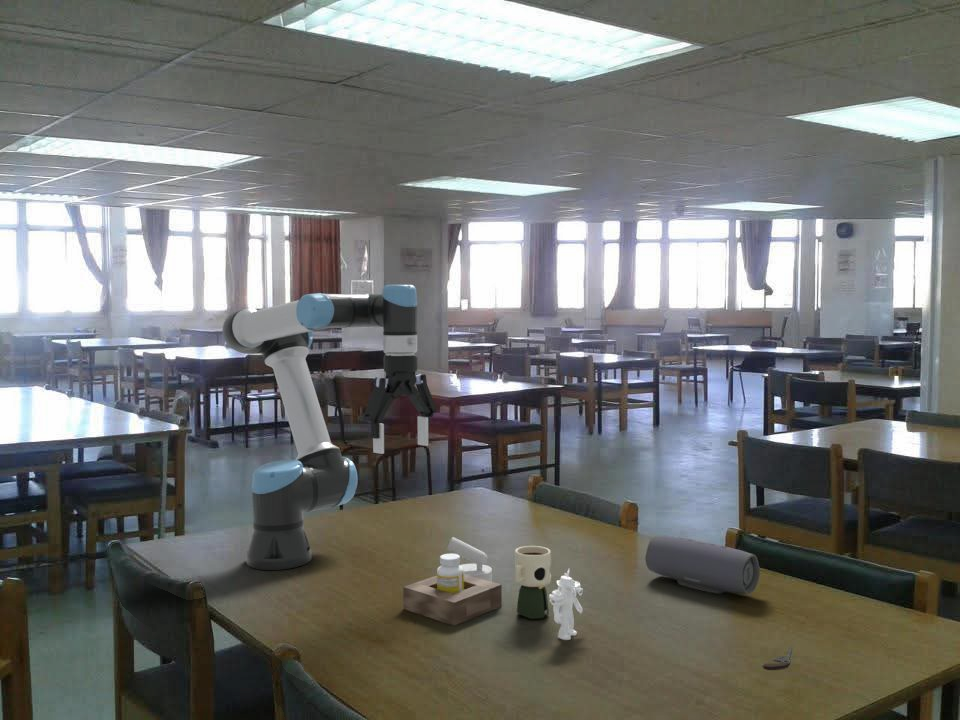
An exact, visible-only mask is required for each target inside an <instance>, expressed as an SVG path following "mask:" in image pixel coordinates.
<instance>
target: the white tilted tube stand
mask: <svg viewBox="0 0 960 720" xmlns="http://www.w3.org/2000/svg"><path fill="white" fill-rule="evenodd" d="M446 550H447V551H449V552H450V553H452V554H458V555H459V556H460V558H463V559H464V560H465V559H466V560H467V561H468V562H471V563H463V564H459V565H460V566H462V568H463V570H464V574H466V575H469V576H473V577H476V578H480V579H484V580H487V581H491V582H493V569H492V567H491V566H489V565H486V563H487V561H488V555H487V554H486V553H485V552H484V551H482V550H480V549H478V548H476V547H474V546H472V545H470V544H468V543H466V542H464V541H462V540H460V539H458V538H456V537H454V536H452V537H451V539H450V541H449V543H448V545H447V548H446Z"/></svg>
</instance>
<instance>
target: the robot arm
mask: <svg viewBox="0 0 960 720" xmlns="http://www.w3.org/2000/svg"><path fill="white" fill-rule="evenodd" d="M418 304H419V302H418V296H417V288H416V287H415V286H414V285H413V284H386V285H384V286H383V287H382V293H341V294H340V293H339V294H338V293H321V292H315V293H314V292H313V293H309V294H304V295H302V296H301V298H300V299H298V300H294V301H288V302H286V303H281V304H277V305H273V306H270V307H265V308H242V309H238V310H235V311H232V312H231V313H230V314H229V315H228V316H227V317H226V318H225V320H224V321H223V324H222V331H221V332H222V337H223V340H224V341H225V343H226V345H227V346H229V348H231V349H232V350H234V351H235V352H238V353H241V354H247V355H260V354H261V355H262V359H263V360H264V364H265V365H266V366H268V367H270V368H272V369H273V374H274V376H275V379H276V383H277V388H278V390H279V394H280V398H281V400H282V404H283V406H284V407H283V408H284V410H285V414H286V417H287V421H288V424H289V427H290V431H291V435H292V437H293V441H294V445H295V448H296V451H297V456H296V457H295V459H284V460H275V461H271V462H267V463H264V464H261V465H260V466H258V467H257V468H255V470H254V471H253V473H252V479H251V491H252V492H251V493H252V522H253V523H252V525H253V527H252V528H253V530H252V534H251V538H250V541H249V545H248V549H247V551H246V555H245V556H246V557H245V558H246V559H245V560H246V563H245V564H246V565H247V566H248V567H250V568H252V569H255V570H262V571H263V570H265V571H279V570H280V571H281V570H288V569H294V568H297V567H301V566H304V565H306V564H308V563H309V562H311V561H312V549H311V545H310V542H309V540H308V535H307V533H306V531H305V528H304V513H310V512H314V511H319V510H324V509H329V508H336V507H338V506H341V505H344V504H347V503H349V502H350V501H351V500H352V499H353V498H354V496H355V494H356V490H357V487H358V482H359V481H358V480H359V478H358V471H357V468H356V466H355V463H354V462H353V461H352V460H351V459H350V458H349V457H345V456H343V455H342V453H341V450H340V447H338V446H337V445H334V444H333V443H332V441H331V438H330V435H329V431H328V428H327V425H326V421H325V419H324V415H323V412H322V409H321V406H320V402H319V399H318V396H317V392H316V389H315V386H314V383H313V380H312V377H311V372H310V369H309V366H308V362H307V360H306V358H307V356H308V355H309V353H310V349H309V348H310V347H311V345H312V343H313V337H312V336H313V335H314V334H313V333H314V331H320V330H326V329H339V328H383V333H382V335H383V336H382V337H383V338H382V340H383V342H382V343H383V349H382V351H383V353H384V354H385V355H384V356H383V371H384V372H385V377H377V376H376V377H374V379H373V388H372V390H371V391H372V392H371V394H370V397H369V400H368V403H367V405H366V409H365V411H364V414H363V416H362V420H363V422H364V421H365V422H367V423H369V424H370V437H371V439H372V446H373V447H372V449H373V450H372V451H373V452H372V453H374V454H375V453H376V454H381V455H383V454H385V424H384V423H381V422H382V421H383V420H384V418H385V416H386V414H387V412H388V411H389V409H390V406H391V405H392V403H393V402H394V400H396V399H397V398H398V397H400V398H401V397H408V399H409V400H410V402H411V404H412V405H413V406H414V408H415V409H416V410H417V412H418V413H419V416H417V445H418V446H425V447H428V446H429V431H430V430H431V427H430V426H431V425H430V424H431V423H430V422H431V421H430V419H431V418H432V417H433V416H434V414H436V413H437V412H438V411H437V407H436V405H435V402H434V399H433V397H432V393H431V391H430V389H429V386H428V380H427V375H426V374H423V373H416V372H417V371H418V370H419V369H418V356H417V354H415V353H417V352H418V306H419V305H418Z"/></svg>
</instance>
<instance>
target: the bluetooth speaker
mask: <svg viewBox="0 0 960 720" xmlns="http://www.w3.org/2000/svg"><path fill="white" fill-rule="evenodd" d="M645 565H646V567H647V568H648V570H649V571H651V572H652V573H655V574H658V575H660V576H664V577H667V578H670V579H673V580H677V584H678V585H681V586H684V587H687V588H691V589H695V590H699V591H703V592H706V593H712V594H718V595H720V594H723V593H725V592H727V593H728V592H729V593H733V594H741V595H750V594H752V593H753V592H754V591H755V590H756V588H757V587H758V583H759V580H760V573H761V570H760V569H761V568H760V564H759V560H758V557H757V555H755V554H754V553H752V552H751V553H750V552H747V551H745V550H740V549H737V548H733V547H728V546H723V545H721V544H716V543H710V542H706V541H702V540H696V539H690V538H685V537H681V536H679V537H678V536H673V535H665V534H655V535H653V536H652V537H651V538H650V540H649V542H648V544H647V548H646V553H645Z"/></svg>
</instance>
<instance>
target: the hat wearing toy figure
mask: <svg viewBox="0 0 960 720" xmlns="http://www.w3.org/2000/svg"><path fill="white" fill-rule="evenodd" d="M570 568H571V567H569V568H568V569H567V572H564V574H563V575H561V576H560V578H559V580H558V579H557V580H556V584H557V589H554V590H553V591H551V593H550V594H549V595H548V598H549V599H548V602H549V603H551V605H552V606H553V608H552V612H553V620H554V623H555V624H557V625H559V624H560V627H559V630H558V633H557V639H561V640H564V641H569V640H571V639H572V636H573V637H575V636H577V635H578V631H576V630H575V629H574V626H575V619H574V612H573V607H574V608H575V609H576V611H577V612H578V614H583V612H584V610H583V607H582V605H581V604H580V602H579V599H578V598H577V594H578V595H579V597H581V596H582V595H583V592H584V588H582V587H581V583H580V581H577V580H574V579H573V578H572V576H571V577H570ZM573 605H574V606H573Z"/></svg>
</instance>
